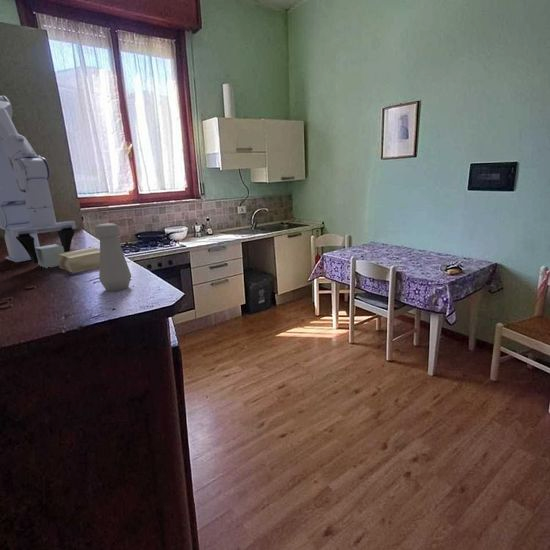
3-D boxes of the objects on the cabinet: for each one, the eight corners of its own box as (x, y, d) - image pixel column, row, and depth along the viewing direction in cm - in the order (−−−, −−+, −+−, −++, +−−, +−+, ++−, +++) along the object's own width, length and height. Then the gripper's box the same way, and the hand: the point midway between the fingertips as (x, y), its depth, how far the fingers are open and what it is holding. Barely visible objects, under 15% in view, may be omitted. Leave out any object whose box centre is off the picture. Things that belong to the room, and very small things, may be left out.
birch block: (60, 268, 92) (56, 253, 90) (95, 261, 98) (93, 247, 97) (73, 274, 86) (70, 258, 85) (110, 266, 92) (107, 250, 91)
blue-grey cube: (39, 266, 95) (34, 247, 93) (59, 261, 98) (55, 244, 97) (46, 268, 92) (41, 249, 90) (66, 264, 95) (62, 245, 94)
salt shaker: (137, 283, 74) (128, 221, 71) (124, 293, 69) (112, 225, 65) (111, 284, 75) (100, 222, 71) (95, 293, 70) (82, 226, 66)
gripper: (11, 211, 83) (25, 267, 87) (76, 205, 94) (86, 255, 97) (2, 210, 87) (15, 264, 91) (65, 204, 98) (75, 252, 102)
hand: (51, 259), depth 95 cm, fingers open, 7 cm apart
